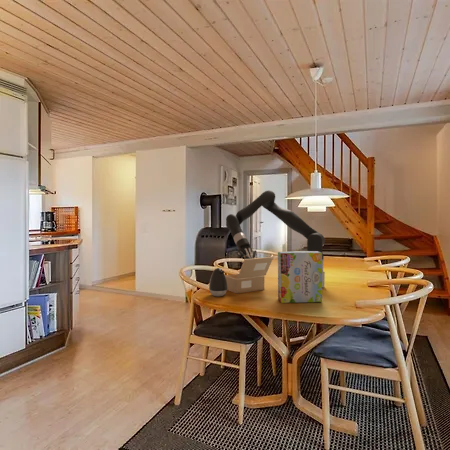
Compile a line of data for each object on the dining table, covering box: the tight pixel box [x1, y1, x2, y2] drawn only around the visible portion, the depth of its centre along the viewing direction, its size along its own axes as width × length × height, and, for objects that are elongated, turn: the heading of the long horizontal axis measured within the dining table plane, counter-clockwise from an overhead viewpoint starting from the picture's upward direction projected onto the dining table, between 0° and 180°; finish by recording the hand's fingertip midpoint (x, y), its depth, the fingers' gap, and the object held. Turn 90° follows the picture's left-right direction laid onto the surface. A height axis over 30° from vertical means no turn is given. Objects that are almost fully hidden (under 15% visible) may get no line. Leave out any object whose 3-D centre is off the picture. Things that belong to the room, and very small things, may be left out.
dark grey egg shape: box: [208, 267, 228, 297], centre depth 183 cm, size 10×10×15 cm
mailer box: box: [225, 273, 265, 294], centre depth 199 cm, size 14×20×8 cm
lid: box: [237, 256, 274, 279], centre depth 189 cm, size 14×20×1 cm
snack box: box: [277, 250, 323, 304], centre depth 172 cm, size 22×9×26 cm, turn 92°
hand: (253, 264), depth 191 cm, fingers closed
